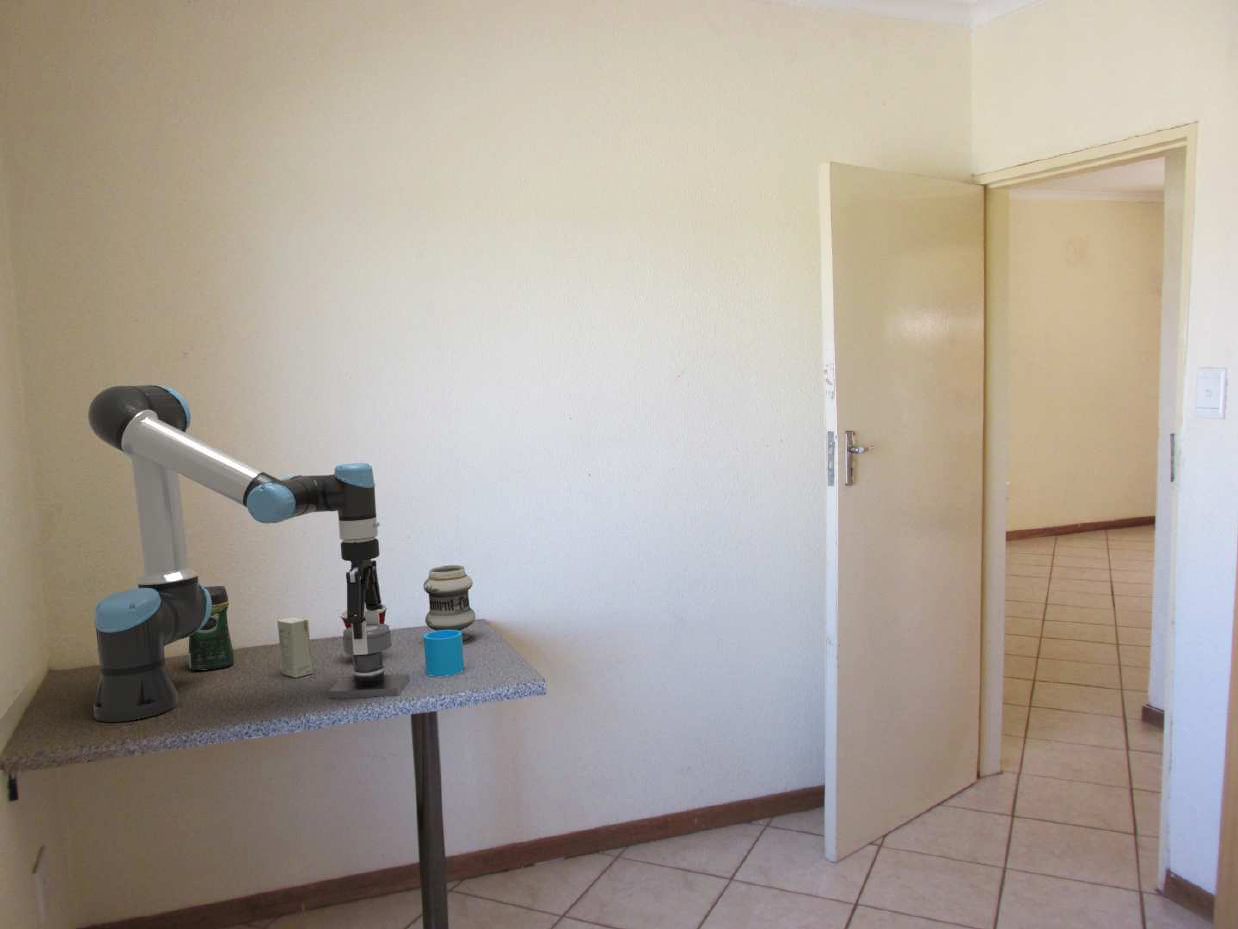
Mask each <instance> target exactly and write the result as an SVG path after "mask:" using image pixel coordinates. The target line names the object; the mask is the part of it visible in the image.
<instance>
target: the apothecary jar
mask: <svg viewBox="0 0 1238 929" xmlns="http://www.w3.org/2000/svg"><path fill="white" fill-rule="evenodd" d="M465 570H466V569H465V566H464V565H459V564H454V565H452V564H450V565H440V566H437V567H436V566H435V567H433V568H431V569H429V570H428V577H427V579H426V580H424V582H423V590H424V592H425V593H426V594H428V600H429V601H428V602H429V603H428V604H429V611H428V612H427V614H426V616H425V619H424V621H425V624H426V626H427V627H428V628H430V629H431V630H434V631H440V630H458V631H463V630H465V629H467V628H468V627H470V626H472V625H473V623H474V622H475V621H476V617H477V616H476V612H475V611H474V610H473V609H472V608H471V607H470V599H469V598H470V597H469V590H471V588H472V587H473V579H472V578H471V576H469V575H468V574H466V573H467V572H465ZM472 640H473V637H472V636H471V635H470V634H468V633H465V632H462V643H463V645H465V644H468V643H470V642H472Z"/></svg>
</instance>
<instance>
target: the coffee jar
mask: <svg viewBox="0 0 1238 929" xmlns="http://www.w3.org/2000/svg"><path fill="white" fill-rule="evenodd" d="M204 588H205V589H207V590H208V592H209V594H210V597H211V601H212V609H211V614H210V617H209V619H208V621H207V622H206V624H205V625H204V626H203V627H202V628H201V629H200V630H198V631H196V632H195V633H194V634H192V635H191V636H189V637H188V666H189V667H188V668H189V669H190V670H191V669H192V671H194V670H202V669H213V670H217V669H216V668H219V669H222V667H223V668H227V667H229V666H230V665H233V663H234V662H235V655H234V650H233V645H232V644H233V643H232V640H231V635H230V630H229V624H228V608H229V604H230V602H229V601H230V600H229V597H228V594H227V590H226V587H225V586H224V585H215V586H205V587H204ZM226 666H227V667H226Z"/></svg>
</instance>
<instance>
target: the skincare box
mask: <svg viewBox="0 0 1238 929" xmlns="http://www.w3.org/2000/svg"><path fill="white" fill-rule="evenodd" d="M277 630H278V639H279V640H278V642H279V653H280V661H281V662H280V663H281V672H282V675H285V676H288V677H292V678H300V677H303V676H307V675H311V674H313V673H314V672H313V670H314V669H313V660H312V650H311V639H310V627H309V619H308V618H302V617H298V616H297V617H296V616H292V617H287V618H283V619H279V620H277Z"/></svg>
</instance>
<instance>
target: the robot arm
mask: <svg viewBox="0 0 1238 929" xmlns="http://www.w3.org/2000/svg"><path fill="white" fill-rule="evenodd" d="M191 415H192V414H191V410H190V407H189V404H188V402H187V400H186V399H185V398H184V397H183V395H181V394H180V393H179V392H178V391H176V390H175V389H173V388H170V387H168V386H162V385H158V384H157V385H156V384H155V385H153V384H149V385H113V386H111V387H108V388H106V389H103V390H102V391H100V392H99V393H97V394H96V395H95V397H94V398H93V399H92V401H91V403H90V405H89V407H88V415H87V416H88V422H89V426H90V428H91V430H92V432H93V433H94V434H95V435H96V436H97V437H98V438H99V440H101V441H102V442H104V443H106V444H108V445H109V446H111V447H112V448H114V449H117V450H118V451H121V452H122V453H123V454H124V455H125V456H126V457H128V458H129V459H130V461H131V466H132V474H133V484H134V492H135V501H136V509H137V517H138V526H139V535H140V543H141V553H142V560H143V570H144V573H143V575H141V577H140V578H139V579H138V580H137V586H138V588H131V589H126V590H123V591H118V592H115V593H112V594H109V595H107V596H105V597H104V598H102V599H101V600H99V601H98V602H97V604H96V605H95V609H94V612H95V617H94V618H95V619H94V626H95V630H96V632H95V633H96V642H97V643H96V644H97V653H98V659H99V660H98V662H99V672H100V674H99V675H100V678H99V683H98V686H97V691H96V694H95V698H94V703H93V707H92V708H93V717H94V719H95V718H96V719H95V720H96V721H99V722H106V723H118V722H119V723H120V722H130V720H131V721H136V719H137V720H142V719H141V718H143V719H147V718H151V717H154V716H155V717H156V716H158V715H160V713H161V714H164V713H166V712H168V711H171V710H172V709H174V708H175V707H176V706H178V704H179V697H178V696H179V695H178V691H177V689H176V686H175V684H174V681H173V680H172V677H171V676H170V674H169V671H168V668H167V667H166V658H165V647H166V646H168V645H170V644H173V643H175V642H177V641H179V640H184V639H186V638H189V636H191V635H192V634H194V633H195V632H196V631H198V630H200V629H201V628H202V627H203V626H204V625H205V624H206V622H207V621H208V619H209V617H210V614H211V609H212V601H211V597H210V594H209V592H208V590H207V589H205V588H204V585H203V583H201V582H199V576H198V572H196V571H195V570H193V569H192V568H191V567H190V565H189V557H188V556H189V555H188V547H187V539H186V536H187V535H186V528H185V520H184V512H183V503H182V502H183V501H182V494H181V486H180V485H181V483H180V476H182V477H185V478H187V479H189V480H190V481H193V482H195V483H197V484H199V485H201V486H202V487H205V488H207V489H209V490H211V491H213V492H215V493H217V494H219V495H220V496H223V497H225V498H227V499H229V500H231V501H232V502H235V503H237V504H239V505H241V506H243V507H245V508H246V509H247V510H248V513H249V514H250V516H251V517H252V518H253V519H254V520H255V521H257V522H258V523H261V524H278V523H282V522H284V521H287V520H291V519H294V518H296V517H301V516H304V515H308V514H311V513H320V512H321V513H323V512H337V515H338V532H339V539H340V540H342V541H341V543H340V553H341V554H340V556H341V560H343V561H346V562H350V563H351V564H350V569H349V571H347V572H345V577H346V610H347V620H346V623H351V627H352V640H353V653H354V655H362V654H368V646H367V633H366V624H380V622H379V610H377V609H382V608H383V605H382V604H383V603H382V597H381V591H380V585H379V578H378V572H377V571H378V570H377V560H374V559H377V558H378V557H379V556H380V544H379V542H380V541H379V539H378V538H376V537H377V536H378V535H379V533H378V532H379V531H378V527H380V525H381V524H380V522H379V521H377V520H378V519H377V518H378V517H377V508H376V506H377V505H376V504H377V503H376V488H375V487H376V483H375V479H374V473H373V467H372V465H371V464H369V463H367V462H366V463H365V462H357V463H356V462H355V463H345V464H344V463H342V464H337V465H336V466H335V467H334V473H333V474H328V475H327V474H325V475H323V474H321V475H320V474H319V475H318V474H317V475H292V476H286V477H283V478H282V479H279V478H277V477H274V476H272V475H271V474H268V473H266V472H264V471H263V470H261V469H259V468H257V467H255V466H253V465H251V464H249V463H247V462H245V461H243V460H242V459H239V458H237V457H234V456H232V455H231V454H229V453H227V452H225V451H223V450H220V449H218V448H216V447H214V446H213V445H211V444H210V443H209V444H208V443H207V442H204V441H203V440H200V439H199V438H196V437H194V436H192V435H190V434H188V433H187V430H188V429H189V428H190V425H191V420H192V418H191V417H192V416H191ZM379 604H381V605H379ZM365 605H366V609H367V610H369V611H365V619H366V621H364V607H365ZM354 615H357V616H354ZM175 705H176V706H175ZM174 706H175V707H174ZM173 707H174V708H173ZM170 709H171V710H170ZM165 711H166V712H165ZM163 712H164V713H163Z"/></svg>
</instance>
